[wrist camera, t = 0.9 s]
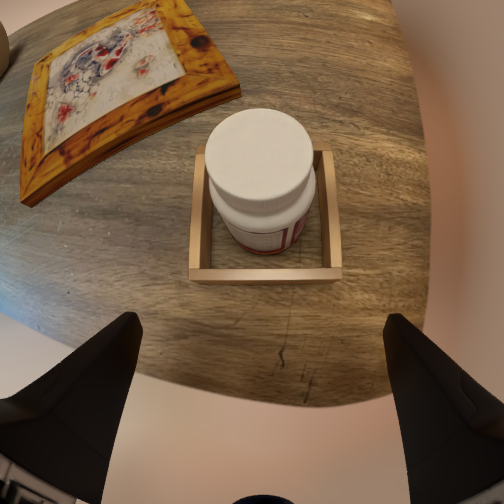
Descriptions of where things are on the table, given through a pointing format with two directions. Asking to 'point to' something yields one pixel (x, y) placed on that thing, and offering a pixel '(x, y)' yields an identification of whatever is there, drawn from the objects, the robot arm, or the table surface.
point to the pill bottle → (261, 178)
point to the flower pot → (3, 50)
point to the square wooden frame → (325, 275)
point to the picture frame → (117, 91)
